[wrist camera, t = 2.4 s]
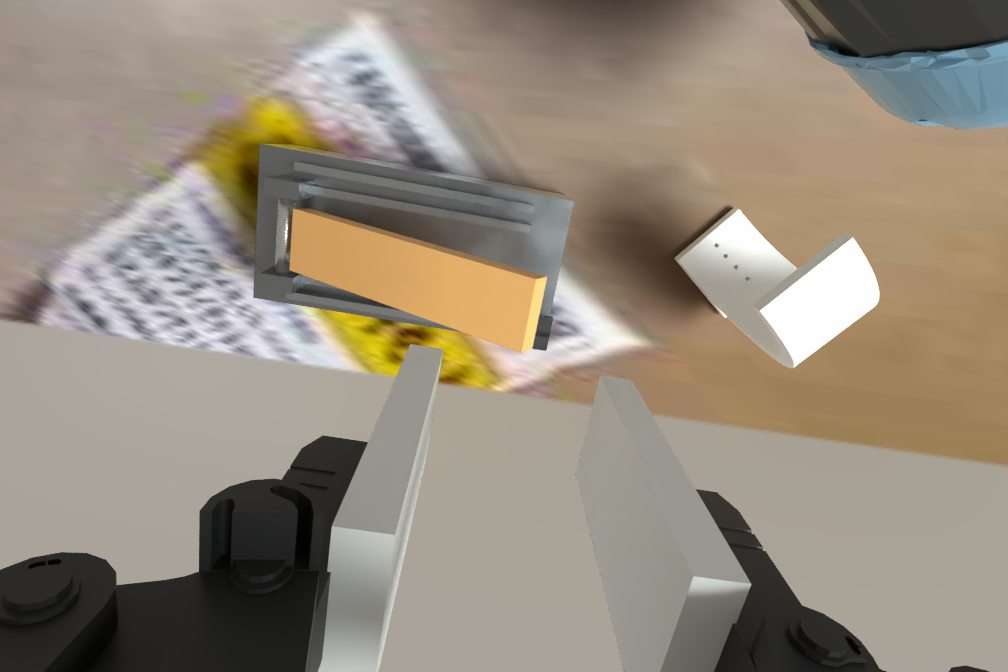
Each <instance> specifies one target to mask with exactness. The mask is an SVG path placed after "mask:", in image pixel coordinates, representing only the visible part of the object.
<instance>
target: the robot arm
mask: <svg viewBox="0 0 1008 672" xmlns="http://www.w3.org/2000/svg"><path fill="white" fill-rule="evenodd" d="M780 1H781V2H782V3H783V4H784V6H785V7H786V8H787V9H788V10H789V12H790V13H791V14H792V15H793V16H794V17H795V19H796V20H797V21H798V22H799V23H800V25H801V26H802V27H803V28H804V29H805V33H806V35H807V37H808V39H809V42H810V45H811V46H812V47H813V49H814V50H815V51H816V52H817V53H818V54H819V55H820V56H822V57H823V58H825V59H827V60H829V61H830V62H832V63H834V64H838V65H840V66H841V67H842V68H843V69H844V70H845V71H846V72H847V73H848V74H849V75H850V76H851V77H852V78H853V79H854V80H855V81H856V82H857V83H858V84H859V85H860V87H861V88H862V89H863V90H864V91H865V92H866V93H867V94H868V95H869V96H870V97H871V98H872V99H873V100H874V101H875V102H876V103H877V104H878V105H879V106H881V107H882V108H883V109H884V110H886V111H887V112H889V113H890V114H892V115H894V116H896V117H898V118H900V119H902V120H905V121H907V122H910V123H913V124H916V125H928V126H941V125H943V126H945V127H951V128H954V129H963V130H972V129H988V128H997V127H1005V126H1008V0H780ZM442 354H443V349H437V348H431V347H425V346H418V345H412V344H410V347H409V349H408V351H407V354H406V356H405V358H404V361H403V363H402V365H401V367H400V370H399V372H398V374H397V377H396V379H395V381H394V384H393V386H392V388H391V391H390V393H389V395H388V398H387V400H386V402H385V404H384V407H383V409H382V411H381V414H380V416H379V418H378V421H377V423H376V425H375V428H374V430H373V432H372V435H371V437H370V439H369V441H368V442H362V441H356V440H349V439H342V438H335V437H329V436H321V437H320V438H318V439H317V440H315V441H313V442H312V443H310V444H308V445H307V446H305V447H303V448H302V449H301V451H300V452H299V454H298V455H297V457H296V458H295V460H294V461H293V463H292V465H291V467H290V469H288V471H287V472H286V474H285V476H284V477H283V479H282V480H279V479H264V480H251V481H247V482H244V483H240V484H237V485H234V486H230V487H228V488H226V489H225V490H223V491H221V492H219V493H218V494H216V495H214V496H212V497H211V498H210V499H209V500H208V502H207V503H206V504H205V505H204V506H203V508H202V509H201V510H200V538H199V572H197V573H194V574H191V575H188V576H185V577H179V578H174V579H169V580H162V581H153V582H143V583H134V584H124V585H116V572H115V570H114V569H113V568H112V567H111V566H110V564H109V563H108V562H107V561H106V560H105V559H102V558H99V557H96V556H93V555H90V554H88V553H63V552H61V553H55V554H50V555H45V556H40V557H34V558H30V559H28V560H25V561H22V562H20V563H17V564H14V565H12V566H9V567H6V568H4V569H1V570H0V672H378V670H379V666H380V662H381V657H382V653H383V648H384V644H385V639H386V635H387V630H388V626H389V622H390V617H391V613H392V608H393V604H394V599H395V595H396V590H397V586H398V582H399V577H400V573H401V568H402V563H403V559H404V555H405V550H406V545H407V541H408V537H409V532H410V528H411V523H412V519H413V514H414V510H415V506H416V501H417V497H418V492H419V488H420V483H421V479H422V474H423V470H424V465H425V461H426V456H427V452H428V445H429V438H430V432H431V426H432V419H433V413H434V406H435V400H436V393H437V387H438V380H439V374H440V367H441V361H442ZM576 478H577V483H578V487H579V491H580V495H581V499H582V503H583V507H584V511H585V515H586V519H587V523H588V527H589V531H590V536H591V540H592V544H593V548H594V552H595V556H596V560H597V564H598V568H599V572H600V576H601V580H602V584H603V589H604V592H605V597H606V601H607V604H608V609H609V613H610V617H611V621H612V625H613V629H614V633H615V637H616V642H617V646H618V649H619V654H620V658H621V662H622V666H623V670H624V672H886V671H883V670H881V669H879V667H878V665H877V664H876V662H875V660H874V658H873V657H872V656H871V654H870V653H869V652H868V650H867V649H866V648H865V646H864V645H863V644H862V642H861V641H860V640H859V639H857V638H856V637H855V636H854V635H853V634H852V633H851V632H849V631H848V630H847V629H846V628H845V627H844V626H842V625H841V624H839V623H837V622H835V621H834V620H832V619H831V618H829V617H827V616H826V615H824V614H822V613H820V612H817V611H815V610H812V609H809V608H807V607H804V606H802V605H801V603H800V602H799V601H798V599H797V598H796V596H795V594H794V593H793V592H792V590H791V589H790V587H789V586H788V584H787V583H786V581H785V580H784V578H783V577H782V575H781V574H780V572H779V571H778V569H777V568H776V566H775V565H774V563H773V562H772V560H771V559H770V557H769V556H768V554H767V553H766V551H763V550H762V549H763V547H762V545H761V544H760V542H759V541H758V539H757V538H756V536H755V535H753V534H751V529H750V527H749V526H748V524H747V523H746V521H745V520H744V519H743V517H742V515H741V514H740V512H739V511H738V510H737V509H736V508H734V507H733V506H732V505H731V504H730V503H729V502H727V501H726V500H725V499H724V498H723V497H721V496H720V495H719V494H718V493H717V492H710V491H704V490H697V489H695V487H694V486H693V484H692V482H691V480H690V479H689V477H688V475H687V474H686V472H685V470H684V469H683V467H682V465H681V463H680V462H679V460H678V459H677V457H676V455H675V453H674V452H673V450H672V448H671V446H670V445H669V443H668V441H667V440H666V438H665V436H664V434H663V433H662V431H661V429H660V428H659V426H658V424H657V422H656V421H655V419H654V417H653V416H652V414H651V412H650V411H649V409H648V407H647V405H646V404H645V402H644V400H643V399H642V397H641V395H640V394H639V392H638V390H637V388H636V387H635V385H634V383H633V382H632V380H628V379H622V378H616V377H610V376H603V375H600V379H599V383H598V387H597V391H596V395H595V399H594V403H593V407H592V411H591V415H590V419H589V423H588V427H587V431H586V435H585V439H584V443H583V447H582V451H581V455H580V459H579V463H578V466H577V470H576ZM949 672H988V671H986V670H981V669H977V668H973V667H969V666H960V667H953V668H951V669H950V671H949Z"/></svg>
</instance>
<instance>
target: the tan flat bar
mask: <svg viewBox="0 0 1008 672" xmlns="http://www.w3.org/2000/svg"><path fill="white" fill-rule="evenodd" d="M289 270H290V271H293V272H296V273H299V274H301V275H304V276H307V277H310V278H313V279H315V280H318V281H321V282H324V283H327V284H329V285H332V286H335V287H338V288H341V289H343V290H346V291H349V292H352V293H355V294H357V295H360V296H363V297H366V298H369V299H371V300H374V301H377V302H380V303H383V304H385V305H388V306H391V307H394V308H397V309H399V310H402V311H405V312H408V313H411V314H413V315H416V316H419V317H422V318H425V319H427V320H430V321H433V322H436V323H439V324H441V325H444V326H447V327H450V328H453V329H455V330H458V331H461V332H464V333H467V334H469V335H472V336H475V337H478V338H481V339H483V340H486V341H489V342H492V343H495V344H497V345H500V346H503V347H506V348H508V349H511V350H514V351H517V352H520V353H523V352H525V351H527V350H529V349H531V348H533V343H534V338H535V333H536V328H537V324H538V319H539V314H540V309H541V304H542V299H543V295H544V290H545V285H546V280H547V277H546V276H543V275H540V274H536V273H533V272H529V271H526V270H522V269H519V268H515V267H512V266H508V265H505V264H501V263H498V262H494V261H491V260H487V259H484V258H480V257H477V256H473V255H470V254H466V253H463V252H459V251H456V250H452V249H449V248H445V247H442V246H438V245H435V244H431V243H428V242H424V241H421V240H417V239H414V238H410V237H407V236H403V235H400V234H396V233H393V232H390V231H386V230H383V229H379V228H376V227H372V226H369V225H365V224H362V223H358V222H355V221H351V220H348V219H344V218H341V217H337V216H334V215H330V214H327V213H323V212H320V211H316V210H313V209H293V219H292V236H291V252H290V269H289Z"/></svg>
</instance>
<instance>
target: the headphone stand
mask: <svg viewBox="0 0 1008 672" xmlns="http://www.w3.org/2000/svg"><path fill="white" fill-rule="evenodd" d="M674 259H675V260H676V261H677V263H678V264H679V265H680V266H681V267H682V269H683V270H684V271H685V272H686V273H687V275H688V276H689V277H690V278H691V279H692V281H693V282H694V283H695V284H696V286H697V287H698V288H699V289H700V290H701V292H702V293H703V294H704V295H705V296H706V298H707V299H708V300H709V301H710V302H711V304H712V305H713V306H714V307H715V308H716V310H717V311H718V312H719V313H720V314H721V315H722V316H723V317H725V318H726V317H728V318H729V319H730V320H731V321H732V322H733V323H734V324H735V325H736V326H737V327H738V328H739V329H740V330H741V331H742V332H743V333H744V334H745V335H746V336H747V337H749V338H750V339H751V340H752V341H753V342H754V343H755V344H756V345H757V346H759V347H760V348H761V349H762V350H763V351H765V352H766V353H767V354H768V355H769V356H771V357H772V358H773V359H775V360H776V361H778V362H779V363H781V364H782V365H784V366H786V367H788V368H794V367H795V366H796V365H798V364H799V363H800V362H802V361H803V360H804V359H806V358H807V357H808V356H810V355H811V354H812V353H814V352H815V351H816V350H818V349H819V348H820V347H822V346H823V345H824V344H826V343H827V342H828V341H830V340H831V339H832V338H834V337H835V336H836V335H838V334H839V333H840V332H842V331H843V330H844V329H845V328H847V327H848V326H849V325H851V324H852V323H853V322H855V321H856V320H857V319H859V318H860V317H861V316H863V315H864V314H865V313H867V312H868V311H869V310H871V309H872V308H873V307H875V306H876V304H877V303H878V300H879V288H878V284H877V281H876V278H875V275H874V273H873V271H872V268H871V266H870V265H869V263H868V261H867V259H866V257H865V255H864V254H863V252H862V250H861V249H860V247H859V246H858V244H857V243H856V241H855V240H854V238H853V237H849V236H845V235H840V236H838V237H837V238H836V239H835V240H833V241H832V242H831V243H830V244H828V245H827V246H826V247H825V248H823V249H822V250H821V251H820V252H818V253H817V254H816V255H814V256H813V257H812V258H811V259H809V260H808V261H807V262H806V263H804V264H803V265H802V266H801V267H799V268H796V267H795V266H794V265H793V264H791V263H790V262H789V261H788V260H787V259H786V258H785V257H783V256H782V255H781V254H780V253H779V252H778V251H777V250H776V249H775V248H774V247H773V246H772V245H771V244H770V243H769V242H768V241H767V240H766V239H765V238H764V237H763V236H762V235H761V234H760V233H759V232H758V231H757V230H756V229H755V228H754V226H753V225H752V224H751V223H750V222H749V221H748V219H747V218H746V217H745V216H744V215H743V213H742V212H741V211H740V209H737V208H733V209H732V210H730V211H729V212H728V213H727V214H726V215H724V216H723V217H722V218H721V219H720V220H718V221H717V222H716V223H715V224H714V225H713V226H711V227H710V228H709V229H708V230H707V231H705V232H704V233H703V234H702V235H701V236H700V237H698V238H697V239H696V240H695V241H694V242H692V243H691V244H690V245H689V246H688V247H686V248H685V249H684V250H683V251H682V252H681V253H679V254H678V255H677V256H676V257H675V258H674Z"/></svg>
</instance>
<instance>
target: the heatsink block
mask: <svg viewBox="0 0 1008 672" xmlns="http://www.w3.org/2000/svg"><path fill="white" fill-rule="evenodd" d="M573 204H574V201H573V200H571V199H570V198H568V197H567V196H566V195H564V194H561V193H556V192H550V191H545V190H539V189H534V188H528V187H523V186H518V185H512V184H507V183H501V182H496V181H491V180H485V179H480V178H474V177H469V176H463V175H458V174H453V173H447V172H442V171H436V170H431V169H425V168H420V167H415V166H409V165H404V164H398V163H393V162H388V161H382V160H377V159H371V158H366V157H360V156H355V155H350V154H344V153H339V152H333V151H328V150H322V149H317V148H312V147H306V146H301V145H295V144H260V149H259V174H258V199H257V224H256V248H255V273H254V298H259V299H265V300H271V301H277V302H283V303H290V304H296V305H302V306H308V307H314V308H320V309H326V310H332V311H338V312H344V313H350V314H356V315H362V316H368V317H374V318H380V319H387V320H393V321H399V322H405V323H411V324H417V325H423V326H429V327H435V328H441V329H447V330H453V331H458V330H455V329H453V328H450V327H447V326H444V325H441V324H439V323H436V322H433V321H430V320H427V319H425V318H422V317H419V316H416V315H413V314H411V313H408V312H405V311H402V310H399V309H397V308H394V307H391V306H388V305H385V304H383V303H380V302H377V301H374V300H371V299H369V298H366V297H363V296H360V295H357V294H355V293H352V292H349V291H346V290H343V289H341V288H338V287H335V286H332V285H329V284H327V283H324V282H321V281H318V280H315V279H313V278H310V277H307V276H304V275H301V274H299V273H296V272H293V271H290V270H289V269H290V252H291V236H292V219H293V209H313V210H316V211H320V212H323V213H327V214H330V215H334V216H337V217H341V218H344V219H348V220H351V221H355V222H358V223H362V224H365V225H369V226H372V227H376V228H379V229H383V230H386V231H390V232H393V233H396V234H400V235H403V236H407V237H410V238H414V239H417V240H421V241H424V242H428V243H431V244H435V245H438V246H442V247H445V248H449V249H452V250H456V251H459V252H463V253H466V254H470V255H473V256H477V257H480V258H484V259H487V260H491V261H494V262H498V263H501V264H505V265H508V266H512V267H515V268H519V269H522V270H526V271H529V272H533V273H536V274H540V275H543V276H546V277H547V280H546V285H545V290H544V295H543V299H542V304H541V309H540V314H539V319H538V324H537V328H536V333H535V338H534V343H533V348H532V349H539V350H545V351H546V349H547V344H548V339H549V335H550V330H551V326H552V321H553V319H552V317H551V316H550V312H551V308H552V303H553V298H554V294H555V289H556V284H557V280H558V275H559V270H560V265H561V261H562V256H563V251H564V247H565V242H566V237H567V233H568V228H569V223H570V219H571V214H572V209H573ZM459 332H461V331H459Z"/></svg>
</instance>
